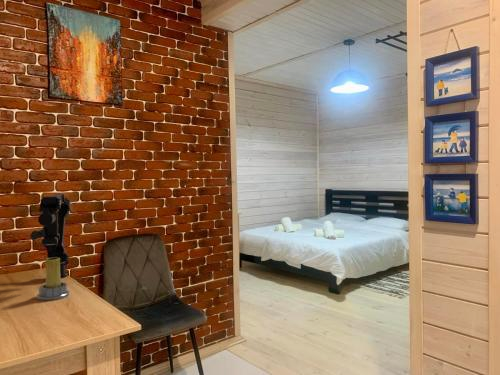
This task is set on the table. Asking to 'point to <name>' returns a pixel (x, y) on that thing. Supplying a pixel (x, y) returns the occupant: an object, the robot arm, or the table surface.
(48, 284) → the vase
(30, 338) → the table surface
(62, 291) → the collar
